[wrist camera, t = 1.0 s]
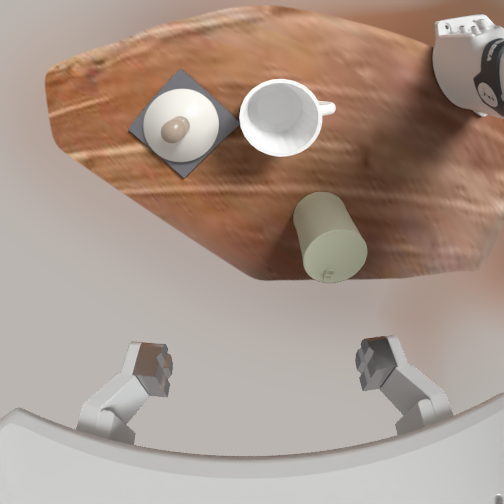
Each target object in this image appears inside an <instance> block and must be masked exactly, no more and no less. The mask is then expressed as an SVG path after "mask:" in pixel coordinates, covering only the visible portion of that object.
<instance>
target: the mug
mask: <svg viewBox="0 0 504 504" xmlns="http://www.w3.org/2000/svg"><path fill="white" fill-rule="evenodd" d="M335 110H336V107H335V104H333V103H332V102H324V101H318V100H317V99H316V97H315V96H314V94H313V93H312V92H311V91H310V90H309V89H307V88H306V87H305V86H304V85H301V84H299V83H297V82H295V81H291V80H286V79H273V80H269V81H266V82H263V83H261V84H259V85H258V86H256V87H255V88H253V89H252V90H251V91H250V92H249V93H248V95H247V96H246V97H245V99H244V101H243V103H242V105H241V109H240V116H239V118H240V126H241V129H242V132H243V134H244V136H245V138H246V139H247V140H248V141H249V143H250V144H251V145H252V146H254V147H255V148H256V149H257V150H259V151H261V152H263V153H265V154H268V155H272V156H278V157H282V156H291V155H294V154H297V153H300V152H302V151H303V150H305V149H307V148H308V147H309V146H310V145H311V144H312V143H313V142H314V141H315V140H316V138H317V136H318V134H319V132H320V129H321V125H322V116H323V115H329V114H332V113H334V112H335Z"/></svg>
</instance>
